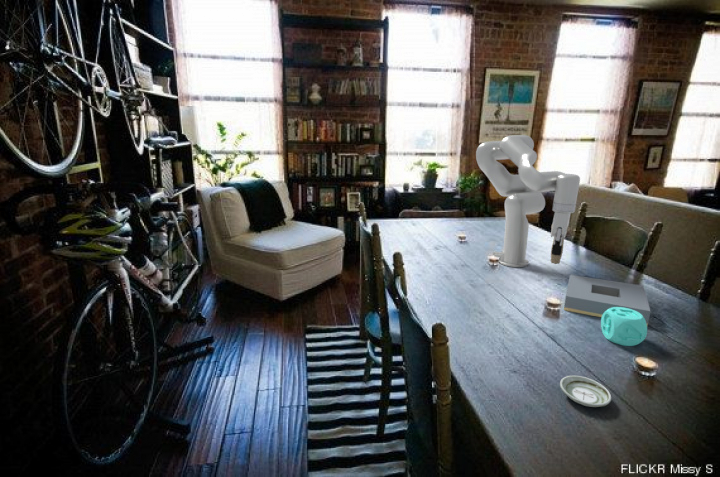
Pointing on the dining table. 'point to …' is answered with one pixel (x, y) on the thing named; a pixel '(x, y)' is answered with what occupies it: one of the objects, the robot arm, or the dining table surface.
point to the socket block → (604, 296)
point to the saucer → (585, 391)
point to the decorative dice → (623, 326)
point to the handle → (556, 258)
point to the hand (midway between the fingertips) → (556, 252)
